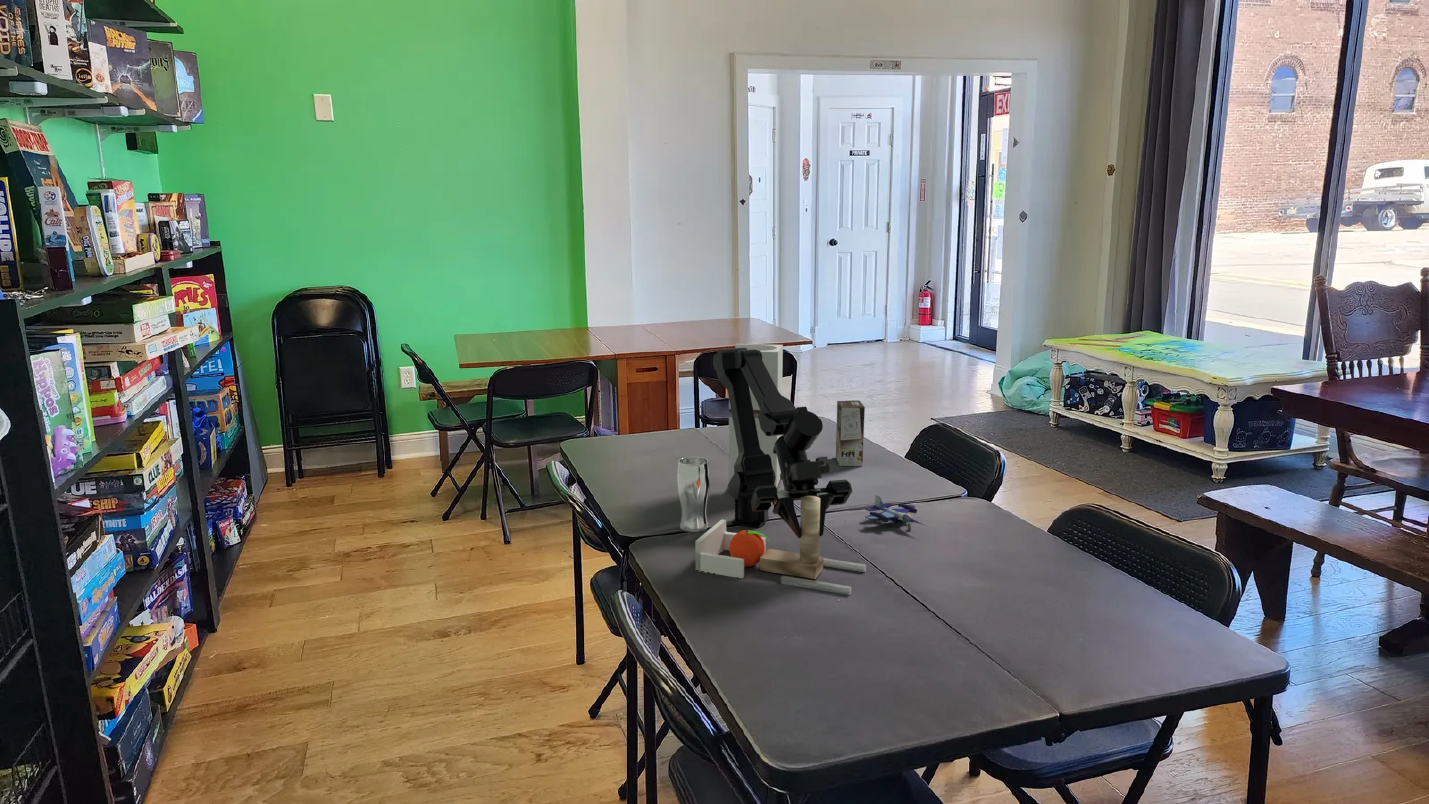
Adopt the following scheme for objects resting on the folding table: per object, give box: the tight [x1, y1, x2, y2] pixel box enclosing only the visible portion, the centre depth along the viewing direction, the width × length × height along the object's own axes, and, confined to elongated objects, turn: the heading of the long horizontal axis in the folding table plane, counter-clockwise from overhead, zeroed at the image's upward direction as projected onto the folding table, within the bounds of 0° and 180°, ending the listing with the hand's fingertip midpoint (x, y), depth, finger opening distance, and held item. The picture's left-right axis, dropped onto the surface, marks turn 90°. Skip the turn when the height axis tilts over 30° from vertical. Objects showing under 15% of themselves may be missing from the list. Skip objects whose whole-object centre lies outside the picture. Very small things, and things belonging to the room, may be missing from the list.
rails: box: [780, 557, 867, 596], centre depth 171 cm, size 13×12×1 cm
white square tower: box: [728, 343, 784, 490], centre depth 220 cm, size 11×11×35 cm
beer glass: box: [676, 456, 711, 533], centre depth 196 cm, size 7×7×15 cm
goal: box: [694, 518, 767, 579], centre depth 178 cm, size 10×13×6 cm
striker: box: [759, 496, 824, 580], centre depth 172 cm, size 11×5×15 cm, turn 67°
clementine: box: [728, 529, 770, 567], centre depth 177 cm, size 8×7×7 cm
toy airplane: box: [864, 495, 927, 532], centre depth 199 cm, size 13×14×4 cm
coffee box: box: [835, 399, 866, 467], centre depth 245 cm, size 9×6×16 cm
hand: (810, 536), depth 170 cm, fingers open, 4 cm apart
